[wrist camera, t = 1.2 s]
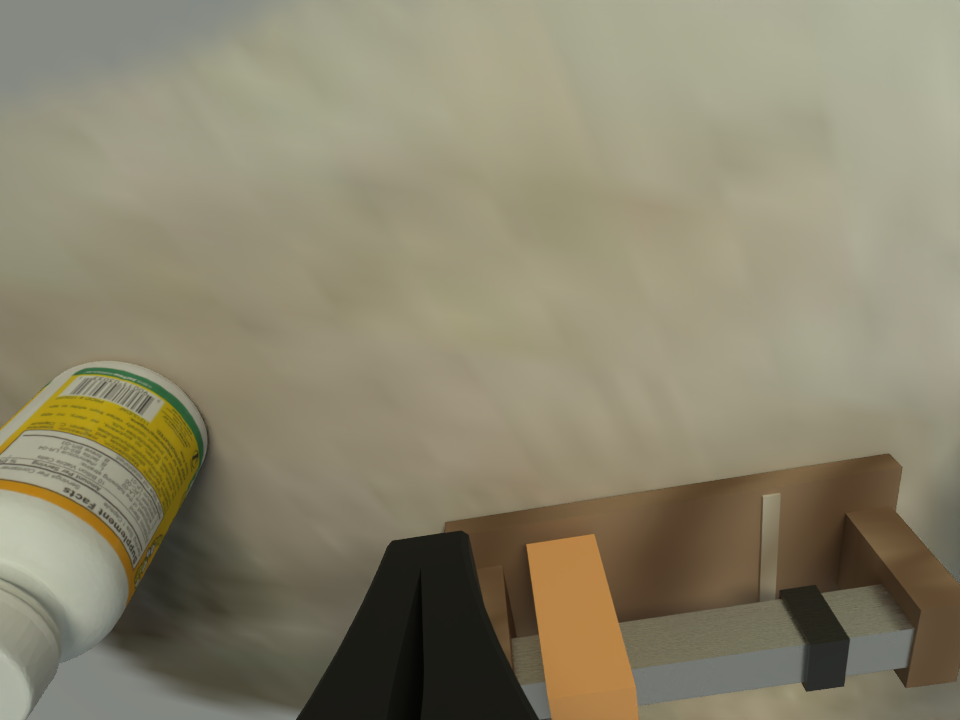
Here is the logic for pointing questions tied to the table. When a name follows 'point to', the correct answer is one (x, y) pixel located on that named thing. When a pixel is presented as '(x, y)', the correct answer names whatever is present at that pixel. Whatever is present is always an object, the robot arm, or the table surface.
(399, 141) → the table surface
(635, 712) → the collar
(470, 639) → the robot arm
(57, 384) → the supplement bottle
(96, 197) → the table surface
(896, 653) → the rod
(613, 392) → the table surface
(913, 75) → the table surface
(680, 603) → the stand
